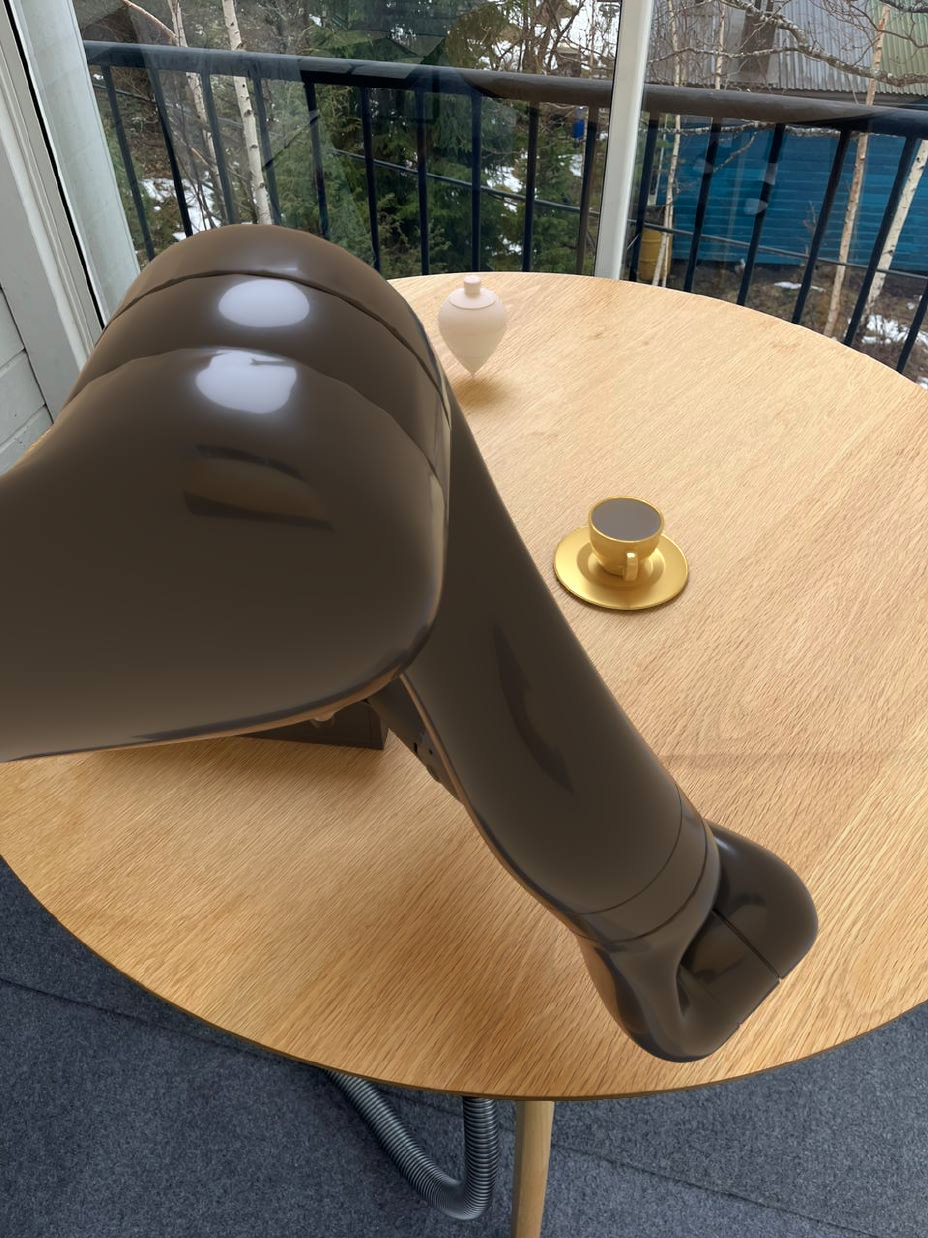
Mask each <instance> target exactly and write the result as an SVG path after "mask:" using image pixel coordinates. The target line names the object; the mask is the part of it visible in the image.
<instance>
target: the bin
mask: <svg viewBox="0 0 928 1238" xmlns="http://www.w3.org/2000/svg"><path fill="white" fill-rule="evenodd" d="M389 729H390V728H389V727H388V726H387V725H386V724H385V723H384V722H383V720H382V719H381V718H380V717H379V715H378V714H377V713H376V711H375V710H374V709H373V708H372V707H370V706H368V705H366V704H363V703H360V702H355V703H353V704H351V705H348V706H346V707H344V708H342V709H340V710H339V711H337V712H336V713H334V724H333V725H332V726H331V727H330V728H327V729H319V728H317V727H315V726H314V725H313V724H312V723H311V722H310V721H309V720H306V721H302V722H299V723H295V724H291V725H286V726H282V727H277V728H272V729H267V730H263V731H257V732H251V733H245V734H239V735H233V736H232V737H243V738H254V739H264V740H265V739H266V740H276V741H287V742H296V743H307V744H315V745H328V746H338V747H350V748H357V749H358V748H360V749H370V750H380V751H381V750H382V751H383V750H384V749H385V745H386V741H387V737H388V733H389Z"/></svg>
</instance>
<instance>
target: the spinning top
mask: <svg viewBox="0 0 928 1238" xmlns="http://www.w3.org/2000/svg"><path fill="white" fill-rule="evenodd" d="M462 282H463V287H461V288H457V289H455V290H453V291H452V292H450V294H449V295H448V297H446V298H445V300H444V301H443V302H442V304H441V306H440V308H439V310H438V314H437V327H438V331H439V334H440V336H441V338H442V340H443V342H444V344H445V346H446V347H447V349H448V351H450V353H451V354H452V355H453V357H455V358H454V359H456V360H457V362H458V363H459V364H460V365H461V366H462V367H463V368H464V369H465V370H466V371H467V372H469V374H470V375H471V376H470V379H471V380H472V381H474V380H475V378H476V377H475V373H477V372H479V371H480V370H481V369H482V367H483V366H484V365H485V364H486V363H487V362H488V361H489V359H490V358H491V357H492V356H493V354H494V353H495V351H496V350H498V347H499V346H500V344H501V342H502V340H503V339H504V336H505V334H506V332H507V328H508V322H509V321H508V319H509V318H508V313H507V309H506V307H505V305H504V304H503V302H502V301H501V300H500V298H499V297H498V296H497V295H496V293H495V292H494V291H492V290H490V289H488V288H484V287H482V278H481V277H480V276H478V275H467V276H465V277H464V278H463V279H462Z"/></svg>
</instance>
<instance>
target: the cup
mask: <svg viewBox="0 0 928 1238" xmlns="http://www.w3.org/2000/svg"><path fill="white" fill-rule="evenodd" d="M587 522H588V523H587V524H586V525H583V526H580V527H578V528H577V529H574V530H573V531H571V532H569V533H568V534H566V535H565V536H564V537H563V538H562V539H561V540H560V541H559V542H558V544H557V545H556V547H555V550H554V552H553V555H552V556H553V557H552V566H553V570H554V572H555V575H556V577H557V578H558V580H559V581H560V583H561V584H562V585H563V586H564V587H565V588H566V589H567V590H568V591H569V592H571V593H572V594H573V595H575V596H576V597H578V598H580V599H582V600H583V601H585V602H587V603H590V604H593V605H596V606H598V607H599V606H600V607H602V608H608V609H613V610H626V611H627V610H628V611H629V610H630V611H631V610H632V611H633V610H642V609H647V608H652V607H655V606H659V605H661V604H664V603H665V602H668V601H669V600H671V599H672V598H674V597H675V596H677V595H678V594H679V593H680V592H681V591H682V589H684V588H685V585H686V583H687V582H688V578H689V573H690V567H689V563H688V559H687V556H686V554H685V553H684V550H682V549H681V547H680V546H679V545H678V544H677V543H676V542H675V541H674V540H672V539H671V538H670V537H669V536H667V535H665V534H664V533H663V531H664V528H665V517H664V515H663V513H662V511H661V510H660V509H659V508H658V507H657V506H656V505H654V504H653V503H651V502H650V501H647V500H646V499H643V498H640V497H636V496H630V495H615V496H610V497H609V496H608V497H605V498H603V499H601V500H599V501H597V502H596V503H595V504H593V505H592V506H591V508H590V510H589V512H588V515H587Z"/></svg>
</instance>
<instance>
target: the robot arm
mask: <svg viewBox="0 0 928 1238" xmlns="http://www.w3.org/2000/svg"><path fill="white" fill-rule="evenodd" d="M420 321H421V320H420V318H419V316H418V315H417V314H416V312H415V310H414V309H413V308H412V307H411V305H410V304H409V302H408V301H407V299H406V298H404V296H403V295H402V294H401V293H400V292H399V291H398V290H396V289H395V287H394V286H393V285H392V284H391V283H390V282H389V281H388V280H387V279H386V278H385V277H384V275H382V274H381V273H380V272H379V271H378V270H377V269H376V268H374V267H372V266H371V265H370V264H368V263H367V262H365V261H364V260H363V259H362V258H360V257H358V256H357V255H355V254H354V253H352V252H351V251H350V250H348V249H347V248H345V247H344V246H342V245H338V244H336V243H334V242H332V241H329V240H328V239H325V238H322V237H321V236H319V235H316V234H314V233H311V232H309V231H305V230H300V229H297V228H291V227H286V226H283V225H277V224H272V223H271V224H269V223H268V224H267V223H233V224H227V225H223V226H218V227H214V228H209V229H204V230H200V231H198V232H196V233H194V234H192V235H189V236H188V237H185V238H183V239H181V240H179V241H177V242H174V243H172V244H170V246H168V247H166V248H165V249H164V250H163V251H161V252H160V253H159V254H158V255H156V256H155V257H154V258H153V259H151V261H149V262H148V264H147V265H145V266H144V268H142V270H141V271H139V274H138V275H137V276H136V278H135V279H134V280H133V282H132V283H131V284H130V285H129V286H128V288H127V289H126V290H125V292H124V294H123V295H122V297H121V299H120V300H119V302H118V303H117V306H116V307H115V309H114V310H113V312H112V314H111V315H110V317H109V319H108V321H107V323H106V324H105V326H104V327H103V329H102V330H101V332H100V334H99V337H98V338H97V341H96V343H95V344H94V347H93V349H92V351H91V352H90V354H89V355H88V358H87V359H86V361H85V363H84V365H83V366H82V369H81V371H80V373H79V375H78V377H77V378H76V380H75V382H74V384H73V385H72V388H71V389H70V392H69V393H68V395H67V397H66V399H65V401H64V402H63V405H62V407H61V408H60V410H59V412H58V414H57V417H56V418H55V420H54V422H53V424H52V425H51V427H50V429H49V431H48V432H47V433H46V434H45V435H44V436H43V437H42V438H41V439H40V441H39V442H37V444H36V445H35V446H33V448H32V449H31V450H30V451H29V452H28V453H27V454H26V455H25V456H23V458H21V459H20V460H19V461H18V462H17V463H16V464H14V465H13V466H12V467H10V468H9V469H8V470H7V471H5V472H4V473H2V474H1V475H0V764H8V763H16V762H17V763H18V762H25V761H33V760H42V759H51V758H52V759H53V758H59V757H68V756H77V755H85V754H94V753H102V752H111V751H120V750H128V749H138V748H145V747H146V748H147V747H155V746H163V745H165V746H166V745H173V744H180V743H185V742H186V743H187V742H196V741H203V740H209V739H217V738H226V737H234V736H233V735H239V734H245V733H251V732H257V731H263V730H267V729H272V728H277V727H282V726H286V725H291V724H295V723H299V722H302V721H306V720H309V721H310V722H311V723H312V724H313V725H314V726H315V727H317V728H319V729H327V728H330V727H331V726H332V725H333V724H334V713H336V712H337V711H339V710H340V709H342V708H344V707H346V706H348V705H351V704H353V703H355V702H360V703H363V704H366V705H368V706H370V707H372V708H373V709H374V710H375V711H376V713H377V714H378V715H379V717H380V718H381V719H382V720H383V722H384V723H385V724H386V725H387V726H388V727H389V729H390V730H391V731H392V733H393V734H394V735H395V736H396V737H397V738H398V739H399V740H400V741H401V743H402V744H403V745H405V747H406V748H407V749H408V750H409V751H410V752H411V753H412V754H413V755H414V757H415V758H416V759H417V760H418V761H419V762H420V763H421V764H422V765H423V766H424V767H425V769H426V771H427V773H428V774H429V776H430V777H432V779H433V780H434V781H435V782H436V783H439V784H441V786H442V787H444V789H445V790H446V791H447V792H448V793H449V794H450V795H451V796H452V798H454V799H455V800H456V801H457V802H458V803H460V804H461V805H462V806H463V807H464V809H465V811H466V813H467V815H468V817H469V819H470V820H471V822H472V823H473V825H474V828H475V829H476V830H477V832H478V833H479V835H480V836H481V838H482V839H483V842H485V844H486V846H487V848H488V849H489V851H490V852H491V853H492V855H493V856H494V857H495V859H496V861H498V863H499V864H500V866H502V868H503V869H504V870H505V871H506V872H507V873H508V874H509V876H511V878H512V879H513V880H515V882H516V883H517V884H519V886H520V887H521V888H522V889H523V890H525V891H526V893H527V894H529V895H530V896H532V898H533V899H535V900H536V902H538V903H539V904H540V905H541V906H542V907H544V908H545V909H546V910H547V911H548V912H549V913H550V914H551V915H553V917H554V918H555V919H557V920H558V921H559V922H561V924H563V925H564V926H565V928H567V929H568V930H569V931H570V932H571V933H572V935H573V936H574V937H575V939H576V941H577V944H578V947H579V949H580V952H581V953H580V954H581V955H582V958H583V961H584V963H585V967H586V969H587V972H588V975H589V978H590V980H591V982H592V984H593V986H594V988H595V990H596V992H597V994H598V996H599V998H600V1000H601V1002H602V1004H603V1006H604V1007H605V1009H606V1010H607V1012H608V1014H609V1016H611V1018H612V1019H613V1021H614V1023H616V1025H617V1026H618V1028H619V1029H620V1030H621V1031H622V1032H623V1034H625V1035H626V1037H627V1038H629V1039H630V1041H632V1042H633V1043H634V1044H635V1045H636V1046H638V1047H639V1048H640V1049H642V1050H643V1051H644V1052H646V1053H648V1054H649V1055H651V1056H652V1057H654V1058H657V1059H659V1060H662V1061H665V1062H669V1063H676V1064H688V1063H695V1062H698V1061H700V1060H704V1059H707V1058H709V1057H710V1056H711V1055H713V1054H714V1053H715V1052H717V1051H718V1050H720V1049H721V1048H722V1047H723V1046H724V1045H725V1044H726V1043H727V1042H728V1041H729V1040H730V1039H731V1038H732V1037H733V1035H734V1034H735V1033H736V1032H737V1031H739V1029H740V1028H741V1025H743V1024H744V1023H745V1022H746V1021H747V1020H748V1019H749V1018H750V1017H751V1016H752V1015H753V1013H754V1012H755V1011H756V1010H757V1009H758V1008H759V1007H760V1006H761V1005H762V1004H763V1003H764V1002H765V1001H766V999H767V998H769V997H770V995H771V994H772V993H773V992H774V991H775V990H776V989H777V988H778V987H779V986H780V984H781V981H784V980H785V979H786V978H787V977H788V976H789V975H790V974H791V973H792V971H793V970H795V969H796V967H797V966H798V965H799V964H800V963H801V962H802V960H804V958H805V957H806V956H807V955H809V953H810V951H811V949H812V948H813V946H814V945H815V943H816V941H817V938H818V935H819V930H820V929H819V928H820V927H819V915H818V912H817V908H816V904H815V901H814V899H813V897H812V894H811V892H810V890H809V888H808V886H807V884H806V883H805V881H803V879H802V878H801V876H800V875H799V874H798V873H797V872H796V871H795V870H794V869H793V867H792V866H791V865H789V864H788V863H787V862H786V861H785V860H784V859H782V857H780V856H778V854H776V853H774V852H773V851H771V850H770V849H768V848H767V847H765V846H763V845H761V844H760V843H758V842H756V841H754V840H752V839H751V838H748V837H747V836H744V835H743V834H740V833H738V832H736V831H734V830H732V829H729V828H727V827H725V826H723V825H721V824H720V823H719V824H718V823H716V822H714V821H712V820H710V819H708V818H705V817H704V816H702V814H701V812H699V810H698V809H697V808H696V806H695V805H694V803H693V802H692V801H691V800H690V798H689V797H688V796H687V794H686V793H685V791H684V790H683V789H682V787H681V786H680V785H679V783H678V782H677V781H676V779H675V778H674V777H673V776H672V774H671V772H670V771H669V770H668V768H666V766H665V765H664V763H663V762H662V761H661V759H660V758H659V757H658V755H657V753H656V752H655V751H654V749H652V747H651V746H650V744H649V743H648V742H647V740H646V739H645V738H644V736H643V735H642V734H641V732H640V731H639V730H638V728H637V726H636V725H635V724H634V723H633V721H632V720H631V718H630V717H629V716H628V714H627V712H626V711H625V709H624V708H623V707H622V705H621V704H620V702H619V701H618V699H617V698H616V697H615V695H614V694H613V692H612V691H611V689H610V688H609V686H608V685H607V683H606V682H605V679H604V678H603V676H602V675H601V673H600V671H599V670H598V668H597V666H596V665H595V664H594V662H593V660H592V659H591V657H590V655H589V654H588V652H587V650H586V649H585V647H584V646H583V644H582V642H581V641H580V640H579V638H578V636H577V635H576V633H575V631H574V629H573V628H572V626H571V624H570V622H569V621H568V619H567V618H566V616H565V613H564V612H563V610H562V609H561V607H560V605H559V604H558V602H557V600H556V598H555V596H554V595H553V593H552V591H551V589H550V588H549V585H548V584H547V582H546V580H545V579H544V577H543V574H542V573H541V571H540V570H539V567H538V566H537V564H536V562H535V560H534V558H533V556H532V555H531V553H530V551H529V549H528V548H527V545H526V544H525V542H524V540H523V538H522V536H521V534H520V531H519V530H518V528H517V526H516V524H515V522H514V520H513V518H512V516H511V514H510V512H509V510H508V509H507V506H506V504H505V502H504V500H503V499H502V496H501V494H500V492H499V490H498V488H497V486H496V483H495V481H494V478H493V476H492V475H491V472H490V470H489V467H488V465H487V462H486V461H485V459H484V457H483V454H482V452H481V449H480V448H479V444H478V443H477V441H476V439H475V436H474V434H473V432H472V429H471V426H470V424H469V422H468V420H467V417H466V415H465V413H464V411H463V408H462V406H461V404H460V402H459V399H458V397H457V395H456V392H455V391H454V388H453V387H452V384H451V382H450V380H449V378H448V375H447V373H446V370H445V368H444V366H443V363H442V362H441V359H440V358H439V355H438V353H437V351H436V348H435V346H434V345H433V342H432V341H431V338H430V336H429V334H428V332H427V331H426V329H425V326H424V327H423V325H424V324H423V322H422V321H421V322H422V323H421V322H420ZM422 324H423V325H422Z"/></svg>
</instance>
